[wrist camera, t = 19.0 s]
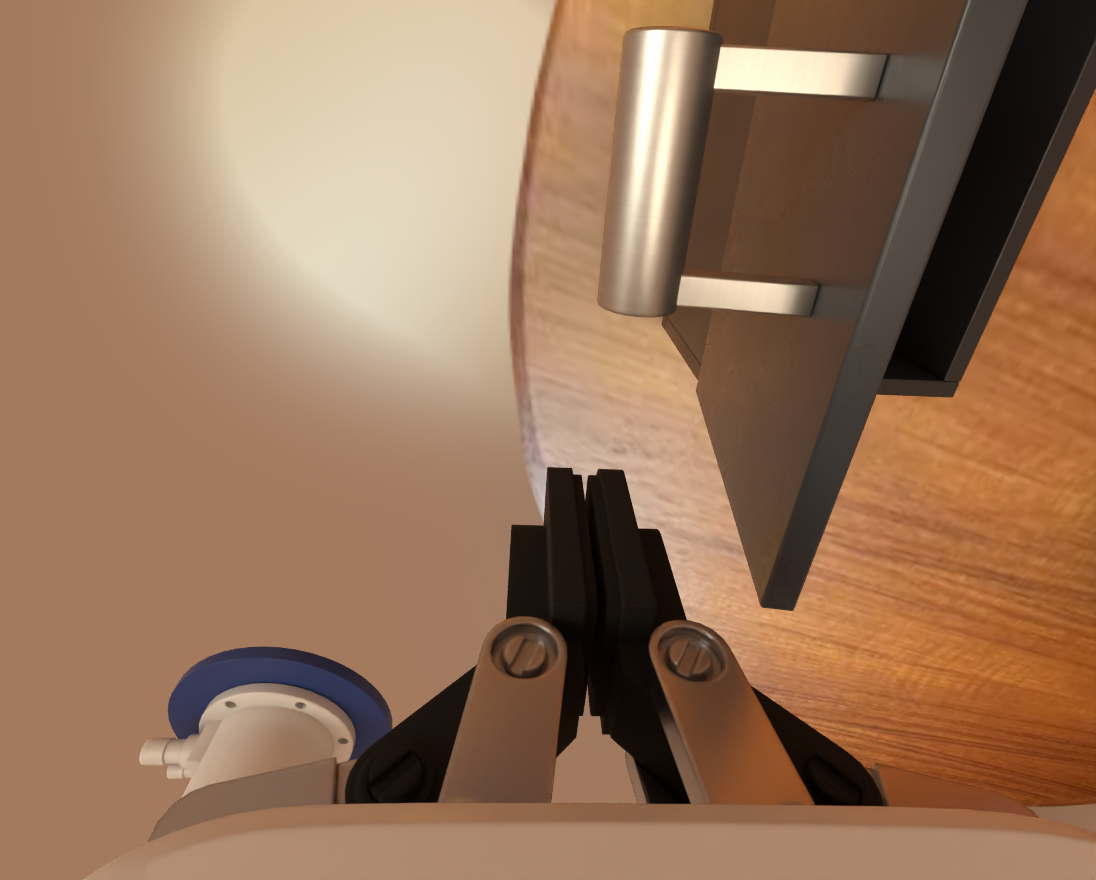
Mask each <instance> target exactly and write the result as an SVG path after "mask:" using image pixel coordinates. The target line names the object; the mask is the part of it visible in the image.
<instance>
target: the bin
mask: <svg viewBox="0 0 1096 880" xmlns="http://www.w3.org/2000/svg"><path fill="white" fill-rule="evenodd" d="M775 3H776V0H714V4H713V10H712V16H711V23H710V29H709V30H711V31H714V32H717V33H719V34H721V35H722V36H723V40H724V42H723V44H726V45H745V46H765V47H767V42H768V37H769V32H770V27H771V22H772V17H773V13H774V8H775ZM1095 89H1096V0H1028V2H1027V5H1026V7H1025V10H1024V12H1023V15H1022V18H1021V20H1020V23H1019V25H1018V28H1017V31H1016V33H1015V36H1014V38H1013V41H1012V44H1011V46H1010V49H1009V51H1008V54H1007V57H1006V59H1005V62H1004V64H1003V67H1002V70H1001V72H1000V75H999V77H998V80H997V83H996V85H995V88H994V90H993V93H992V96H991V98H990V101H989V103H988V106H987V109H986V111H985V114H984V116H983V119H982V122H981V124H980V127H979V129H978V132H977V135H976V137H975V140H974V142H973V145H972V148H971V150H970V153H969V155H968V158H967V161H966V163H965V166H964V168H963V171H962V174H961V176H960V179H959V181H958V184H957V187H956V189H955V192H954V194H953V197H952V200H951V202H950V205H949V207H948V210H947V213H946V215H945V218H944V220H943V223H942V226H941V228H940V231H939V233H938V236H937V239H936V241H935V244H934V247H933V249H932V252H931V254H930V257H929V260H928V262H927V265H926V267H925V270H924V273H923V275H922V278H921V280H920V283H919V286H918V288H917V291H916V293H915V296H914V299H913V301H912V304H911V306H910V309H909V312H908V314H907V317H906V319H905V322H904V325H903V327H902V330H901V332H900V335H899V338H898V340H897V343H896V345H895V348H894V351H893V353H892V356H891V358H890V361H889V364H888V366H887V369H886V371H885V374H884V377H883V379H882V382H881V384H880V387H879V390H878V392H877V395H903V396H928V397H953V396H954V394H955V392H956V389H957V387H958V385H959V382H958V381H961V379H962V377H963V375H964V373H965V370H966V368H967V366H968V364H969V362H970V360H971V357H972V355H973V353H974V351H975V349H976V347H977V344H978V342H979V340H980V338H981V336H982V334H983V331H984V329H985V327H986V325H987V323H988V321H989V318H990V316H991V314H992V312H993V310H994V308H995V305H996V303H997V301H998V299H999V297H1000V295H1001V292H1002V290H1003V288H1004V286H1005V284H1006V282H1007V279H1008V277H1009V275H1010V273H1011V271H1012V269H1013V266H1014V264H1015V262H1016V260H1017V258H1018V256H1019V253H1020V251H1021V249H1022V247H1023V245H1024V242H1025V240H1026V238H1027V236H1028V234H1029V232H1030V229H1031V227H1032V225H1033V223H1034V221H1035V219H1036V216H1037V214H1038V212H1039V210H1040V208H1041V206H1042V203H1043V201H1044V199H1045V197H1046V195H1047V193H1048V190H1049V188H1050V186H1051V184H1052V182H1053V180H1054V177H1055V175H1056V173H1057V171H1058V169H1059V167H1060V164H1061V162H1062V160H1063V158H1064V156H1065V154H1066V151H1067V149H1068V147H1069V145H1070V143H1071V141H1072V138H1073V136H1074V134H1075V132H1076V130H1077V128H1078V125H1079V123H1080V121H1081V119H1082V117H1083V115H1084V112H1085V110H1086V108H1087V106H1088V104H1089V102H1090V99H1091V97H1092V95H1093V93H1094V91H1095ZM755 100H756V96H755V95H737V94H720V93H715V94H714V100H713V106H712V111H711V117H710V123H709V129H708V135H707V140H706V146H705V152H704V158H703V164H702V169H701V175H700V181H699V187H698V192H697V198H696V204H695V210H694V216H693V221H692V227H691V233H690V239H689V245H688V250H687V256H686V262H685V268H686V269H699V270H711V271H721V266H722V261H723V256H724V252H725V247H726V242H727V237H728V232H729V227H730V222H731V217H732V213H733V208H734V203H735V198H736V193H737V188H738V183H739V178H740V174H741V169H742V164H743V159H744V154H745V149H746V144H747V139H748V135H749V130H750V125H751V120H752V115H753V110H754V105H755ZM712 310H713V309H702V308H690V307H678V308H677V310H676V311H675V312H674V313H673V314H670V315H667V316H663V321H662V326H663V328H664V329H665V331H666V332H667V334H668V335H669V337H670V338H671V340H672V342H673V343H674V345H675V346H676V348H677V349H678V351H679V352H680V354H681V355H682V357H683V358H684V360H685V362H686V363H687V365H688V366H689V368H690V369H691V371H692V372H693V374H694V375H695V377H696V378H697V380H698V378H699V374H700V369H701V364H702V359H703V354H704V349H705V344H706V339H707V335H708V330H709V325H710V320H711V315H712Z"/></svg>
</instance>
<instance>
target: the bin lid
mask: <svg viewBox="0 0 1096 880" xmlns="http://www.w3.org/2000/svg"><path fill="white" fill-rule="evenodd" d="M1027 2H1028V0H776V3H775V8H774V13H773V17H772V22H771V27H770V32H769V37H768V42H767V47H765V46H745V45H726V44H723V42H724V40H723V36H722V35H721V34H719V33H717V32H714V31H711V30H706V29H699V28H691V27H676V26H652V27H640V28H634V29H631V30H629V31H626V32H625V34H624V36H623V46H622V56H621V66H620V76H619V86H618V96H617V106H616V116H615V127H614V137H613V147H612V157H611V167H610V177H609V187H608V197H607V207H606V217H605V228H604V238H603V248H602V258H601V268H600V278H599V288H598V298H597V301H598V304H599V305H600V306H601V307H602V308H604V309H606V310H609V311H611V312H614V313H618V314H622V315H627V316H634V317H661V316H667V315H670V314H673V313H674V312H675V311H676V310H677V308H678V307H690V308H702V309H713V310H712V315H711V320H710V325H709V330H708V335H707V339H706V344H705V349H704V354H703V359H702V364H701V369H700V374H699V378H698V383H697V388H696V393H697V396H698V400H699V403H700V406H701V409H702V413H703V416H704V419H705V423H706V426H707V429H708V433H709V436H710V439H711V443H712V446H713V449H714V453H715V456H716V459H717V463H718V466H719V469H720V473H721V476H722V479H723V483H724V486H725V489H726V492H727V496H728V499H729V502H730V506H731V509H732V512H733V516H734V519H735V522H736V526H737V529H738V532H739V536H740V539H741V542H742V546H743V549H744V552H745V556H746V559H747V562H748V566H749V569H750V572H751V575H752V579H753V582H754V585H755V589H756V592H757V595H758V599H759V602H760V605H761V607H763V608H771V609H779V610H788V611H793V610H794V608H795V606H796V603H797V600H798V598H799V595H800V593H801V590H802V587H803V585H804V582H805V580H806V577H807V574H808V572H809V569H810V567H811V564H812V561H813V559H814V556H815V554H816V551H817V548H818V546H819V543H820V541H821V538H822V535H823V533H824V530H825V528H826V525H827V522H828V520H829V517H830V515H831V512H832V509H833V507H834V504H835V501H836V499H837V496H838V494H839V491H840V488H841V486H842V483H843V481H844V478H845V475H846V473H847V470H848V468H849V465H850V462H851V460H852V457H853V455H854V452H855V449H856V447H857V444H858V442H859V439H860V436H861V434H862V431H863V429H864V426H865V423H866V421H867V418H868V416H869V413H870V410H871V408H872V405H873V403H874V400H875V397H876V395H877V392H878V390H879V387H880V384H881V382H882V379H883V377H884V374H885V371H886V369H887V366H888V364H889V361H890V358H891V356H892V353H893V351H894V348H895V345H896V343H897V340H898V338H899V335H900V332H901V330H902V327H903V325H904V322H905V319H906V317H907V314H908V312H909V309H910V306H911V304H912V301H913V299H914V296H915V293H916V291H917V288H918V286H919V283H920V280H921V278H922V275H923V273H924V270H925V267H926V265H927V262H928V260H929V257H930V254H931V252H932V249H933V247H934V244H935V241H936V239H937V236H938V233H939V231H940V228H941V226H942V223H943V220H944V218H945V215H946V213H947V210H948V207H949V205H950V202H951V200H952V197H953V194H954V192H955V189H956V187H957V184H958V181H959V179H960V176H961V174H962V171H963V168H964V166H965V163H966V161H967V158H968V155H969V153H970V150H971V148H972V145H973V142H974V140H975V137H976V135H977V132H978V129H979V127H980V124H981V122H982V119H983V116H984V114H985V111H986V109H987V106H988V103H989V101H990V98H991V96H992V93H993V90H994V88H995V85H996V83H997V80H998V77H999V75H1000V72H1001V70H1002V67H1003V64H1004V62H1005V59H1006V57H1007V54H1008V51H1009V49H1010V46H1011V44H1012V41H1013V38H1014V36H1015V33H1016V31H1017V28H1018V25H1019V23H1020V20H1021V18H1022V15H1023V12H1024V10H1025V7H1026V5H1027ZM715 93H720V94H737V95H755V96H756V100H755V105H754V110H753V115H752V120H751V125H750V130H749V135H748V139H747V144H746V149H745V154H744V159H743V164H742V169H741V174H740V178H739V183H738V188H737V193H736V198H735V203H734V208H733V213H732V217H731V222H730V227H729V232H728V237H727V242H726V247H725V252H724V256H723V261H722V266H721V271H711V270H699V269H686V268H685V262H686V256H687V250H688V245H689V239H690V233H691V227H692V221H693V216H694V210H695V204H696V198H697V192H698V187H699V181H700V175H701V169H702V164H703V158H704V152H705V146H706V140H707V135H708V129H709V123H710V117H711V111H712V106H713V100H714V94H715Z"/></svg>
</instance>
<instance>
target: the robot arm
mask: <svg viewBox="0 0 1096 880" xmlns="http://www.w3.org/2000/svg"><path fill="white" fill-rule="evenodd" d="M587 685H588V695H589V705H590V714H591V716H600V719H601V728H602V734H609V735H611V738H612V739H613V740H614V741H615V742H616V743H617V744H618V745H620V746H621V747H622V748H623V749H624V750H625V751H626V753H625V757H626V764H627V769H628V772H629V776H630V779H631V783H632V786H633V790H634V793H635V797H636V800H637V804H612V803H611V804H610V803H605V804H603V803H551V799H552V790H553V782H554V773H555V765H556V758H557V756H559V754H560V753H561V752H562V751H563V750H564V749H565V748H566V747H567V746H568V745H569V744H570V743H571V742H572V741H573V740H574V739H575V738H576V735H577V727H578V720H579V716H583V712H584V705H585V698H586V691H587ZM355 739H356V734H355V728H354V726H353V723H352V721H351V720H350V718H349V717H348V716H347V714H346V713H345V712H344V711H343V710H342V709H341V708H340V707H339V706H337V705H336V704H335V703H333V702H332V701H330V700H329V699H327V698H326V697H324V696H322V695H319V694H317V693H315V692H313V691H310V690H307V689H303V688H300V687H297V686H291V685H286V684H278V683H253V684H247V685H242V686H237V687H235V688H232V689H229V690H226V691H224V692H223V693H221V694H219V695H218V696H216V697H215V698H214V699H213V700H212V701H211V702H210V703H209V705H208V706H207V708H206V710H205V711H204V713H203V715H202V717H201V720H200V723H199V734H191V735H190V736H188V738H187V739H175V738H149V739H148V740H147V741H146V742H145V744H144V745H143V747H142V749H141V752H140V759H139V760H140V763H141V764H142V765H167V764H169V767H168V769H167V778H169V779H185V778H192V779H191V781H190V782H189V784H188V786H187V788H186V790H185V792H184V794H183V796H182V798H181V799H180V800H178V801H177V802H175V803H174V804H173V805H172V806H171V807H170V808H169V809H168V810H167V811H166V813H165V814H164V815H163V816H162V817H161V818H160V820H159V821H158V822H157V824H156V826H155V828H154V830H153V832H152V834H151V836H150V838H149V840H148V843H146V844H144V845H141V846H139V847H137V848H135V849H134V850H132V851H130V852H128V853H126V854H124V855H122V856H120V857H118V858H116V859H115V860H113V861H111V862H109V863H107V864H106V865H104V866H103V867H101V868H99V869H98V870H96V871H95V872H93V873H92V874H90V875H89V876H87V877H85V878H84V879H83V880H1096V833H1095V832H1092V831H1089V830H1085V829H1082V828H1078V827H1075V826H1071V825H1067V824H1063V823H1059V822H1055V821H1051V820H1047V819H1043V818H1039V817H1038V816H1037V815H1036V814H1035V813H1034V812H1033V811H1032V810H1030V809H1029V808H1027V807H1026V806H1024V805H1023V804H1021V803H1020V802H1018V801H1017V800H1015V799H1014V798H1011V797H1009V796H1006V795H1004V794H1001V793H998V792H996V791H992V790H987V789H983V788H979V787H975V786H971V785H966V784H962V783H958V782H954V781H949V780H945V779H941V778H937V777H933V776H928V775H924V774H920V773H916V772H911V771H907V770H903V769H899V768H895V767H890V766H886V765H882V764H878V763H875V765H874V766H873V768H872V769H870V768H866V767H864V766H863V765H862V764H861V763H860V762H859V761H858V760H856V759H855V758H854V757H853V756H852V755H850V754H849V753H848V752H847V751H845V750H844V749H842V748H841V747H839V746H838V745H837V744H835V743H834V742H832V741H831V740H829V739H828V738H826V737H825V736H823V735H822V734H820V733H819V732H818V731H816V730H815V729H813V728H812V727H810V726H809V725H807V724H806V723H804V722H803V721H802V720H800V719H799V718H797V717H796V716H794V715H793V714H791V713H790V712H788V711H787V710H786V709H784V708H783V707H781V706H780V705H778V704H777V703H775V702H774V701H772V700H771V699H770V698H768V697H767V696H765V695H764V694H762V693H761V692H759V691H758V690H756V689H755V688H754V687H752V686H751V685H750V684H749V682H748V680H747V678H746V677H745V675H744V673H743V671H742V669H741V667H740V666H739V664H738V662H737V660H736V658H735V656H734V655H733V653H732V651H731V649H730V647H729V646H728V645H727V643H726V642H725V641H724V639H723V638H722V637H721V636H719V635H718V634H717V633H716V632H715V631H713V630H712V629H710V628H708V627H706V626H704V625H702V624H700V623H697V622H693V621H689V620H687V619H686V616H685V613H684V609H683V606H682V603H681V599H680V596H679V593H678V590H677V586H676V583H675V580H674V576H673V573H672V570H671V566H670V563H669V560H668V556H667V553H666V550H665V546H664V543H663V540H662V536H661V534H660V532H659V530H658V529H638V526H637V522H636V518H635V514H634V510H633V506H632V502H631V498H630V494H629V490H628V486H627V482H626V478H625V474H624V471H623V470H613V469H598V471H597V475H589V476H588V480H587V489H586V498H585V497H584V490H583V482H582V475H573V471H572V468H555V467H548V468H547V481H546V496H545V512H544V526H537V525H512V529H511V544H510V561H509V579H508V596H507V613H506V620H505V621H503V622H501V623H499V624H497V625H496V626H495V627H494V628H493V629H492V630H491V631H490V632H489V633H488V634H487V636H486V638H485V640H484V642H483V645H482V648H481V652H480V655H479V659H478V662H477V665H476V666H475V667H473V668H472V669H471V670H469V671H468V672H467V673H465V674H464V675H463V676H461V677H460V678H459V679H458V680H456V681H455V682H454V683H452V684H451V685H450V686H448V687H447V688H446V689H445V690H443V691H442V692H440V693H439V694H438V695H437V696H435V697H434V698H433V699H431V700H430V701H429V702H427V703H426V704H425V705H423V706H422V707H421V708H420V709H418V710H417V711H416V712H414V713H413V714H412V715H410V716H409V717H408V718H407V719H405V720H404V721H403V722H402V723H400V724H399V725H398V726H396V727H395V728H394V729H392V730H391V731H389V732H388V733H387V734H386V735H384V736H383V737H382V738H380V739H379V740H378V741H376V742H375V743H374V744H372V745H371V746H370V747H369V748H368V749H367V750H366V751H365V752H364V753H363V754H362V755H361V756H360V757H359V758H358V759H355V760H350V761H348V760H349V758H350V756H351V754H352V751H353V748H354V744H355Z"/></svg>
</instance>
